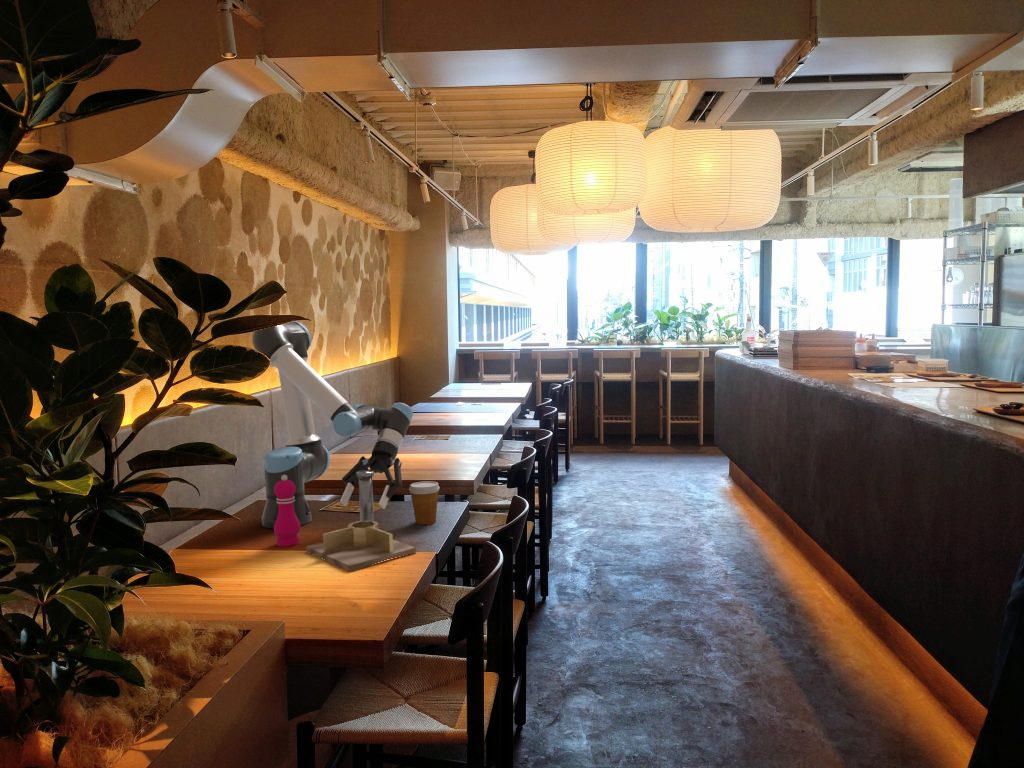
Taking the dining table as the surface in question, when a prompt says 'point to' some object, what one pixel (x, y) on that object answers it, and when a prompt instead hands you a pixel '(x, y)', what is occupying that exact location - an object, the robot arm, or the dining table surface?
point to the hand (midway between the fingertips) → (362, 505)
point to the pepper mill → (286, 514)
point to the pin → (366, 495)
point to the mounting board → (359, 554)
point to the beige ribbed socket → (358, 537)
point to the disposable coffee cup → (424, 501)
